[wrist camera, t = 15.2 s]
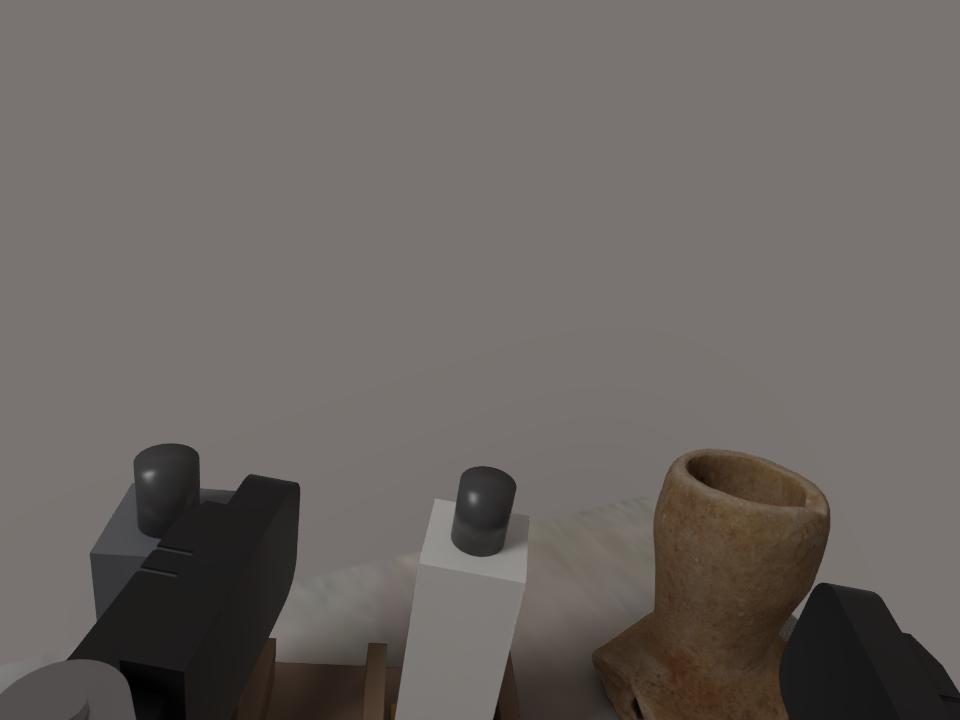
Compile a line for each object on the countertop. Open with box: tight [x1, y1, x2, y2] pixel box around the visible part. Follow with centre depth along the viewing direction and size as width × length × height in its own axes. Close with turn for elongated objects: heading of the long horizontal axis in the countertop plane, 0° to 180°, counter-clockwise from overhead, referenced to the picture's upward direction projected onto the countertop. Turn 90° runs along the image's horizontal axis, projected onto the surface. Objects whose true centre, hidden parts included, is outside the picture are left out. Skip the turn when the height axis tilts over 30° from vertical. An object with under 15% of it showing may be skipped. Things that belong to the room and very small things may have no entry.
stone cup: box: [592, 449, 830, 720], centre depth 42 cm, size 15×12×15 cm
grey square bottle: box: [90, 444, 236, 720], centre depth 32 cm, size 4×4×17 cm
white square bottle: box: [395, 466, 529, 720], centre depth 33 cm, size 4×4×17 cm
